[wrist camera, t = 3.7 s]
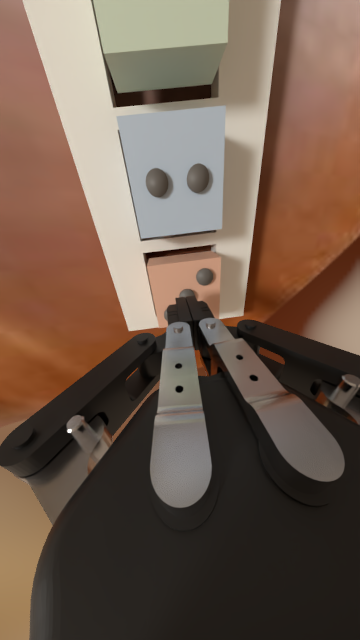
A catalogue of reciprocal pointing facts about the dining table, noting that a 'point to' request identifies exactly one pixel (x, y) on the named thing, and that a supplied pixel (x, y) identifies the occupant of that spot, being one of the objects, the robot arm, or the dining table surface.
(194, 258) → the tile three
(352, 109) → the dining table surface
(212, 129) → the tile two
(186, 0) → the tile one
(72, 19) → the board
